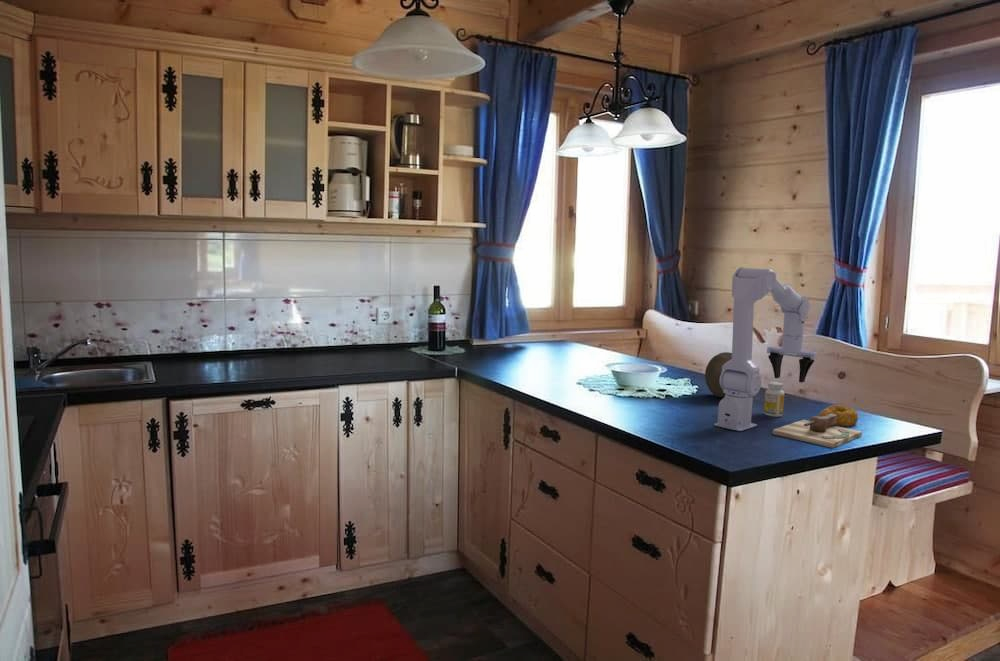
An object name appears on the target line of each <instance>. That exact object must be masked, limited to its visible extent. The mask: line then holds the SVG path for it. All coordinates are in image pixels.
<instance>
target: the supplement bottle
mask: <svg viewBox="0 0 1000 661" xmlns="http://www.w3.org/2000/svg"><path fill="white" fill-rule="evenodd" d="M783 385H784V383H782V382H779V381H778V382H777V381H769V382H768V385H767V387H768V389H767V388H766V390H765V392H764V405H763V415H765V416H768V417H774V418H778V417H782V416H784V415H783V413H784V404H785V403H784V402H785V391H784V390H782V389H783V387H784V386H783Z"/></svg>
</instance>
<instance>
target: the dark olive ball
mask: <svg viewBox="0 0 1000 661" xmlns="http://www.w3.org/2000/svg"><path fill="white" fill-rule="evenodd" d="M731 359H732V352H724V351H723V352H720V353H718V354H716V355H714V356H712V358H711V359H710V360H709V361H708V363H707V365H706V368H705V370H704V380H705V382H706V386H707V388H708V390H709V391H710V393H711V394H713V395H714V396H715V397H718V398H722V399H723V398H724V397H725V394H726V393H723V389H722V388H721V386H720V375H721V373H722V366H723V365H724V364H725V363H726V362H728V361H730V360H731Z"/></svg>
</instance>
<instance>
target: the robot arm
mask: <svg viewBox="0 0 1000 661" xmlns="http://www.w3.org/2000/svg"><path fill="white" fill-rule="evenodd" d="M731 282H732V284H731V285H732V286H731V297H733V312H732V313H733V314H732V315H733V316H732V317H733V318H732V321H733V322H732V342H731V343H732V345H731V353H732V359H731V360H730V361H728V362H726V363H725V364H724V365H723V366H722V373H721V375H720V386H721V388H722V389H723V393H726V394H725V397H724V398H722V399H720V401H719V403H718V408H717V422H716V423H714V424H713V425H714V426H715V427H719V428H720V427H721V428H723V429H724V428H725V429H729V430H733V431H737V432H742V431H745V430H749V429H752V428H755V427H757V426H758V424H757V423H752V410H753V397H755V396H756V395H757V394H758V393H759V392H760V390H761V387H762V379H761V376H760V368H759V367H758V365H757V364H756V363H755V362H754V361H753V358H752V356H753V335H754V334H753V332H754V311H755V310H754V307H755V303H756V302H758V301H759V300H763V298H764V297H765V296H767V295H768V294H769V293H770V294H772V299H773V301H774V302H775V303H777V304H778V305H779V307H780V310H781V313H782V314H783V328H782V340H781V346H780V347H779V346H778V347H777V346H772V345H771V346H767V348H766V354H769V355H768V359H769V362H770V364H771V367H772V369H773V375H774V378H775V379H780V377H781V374H782V373H781V372H782V371H781V369H782V362H783V359H784V356H785V357H786V356H787V357H794V358H799V359H798V362H799V363H798V364H799V376H798V377H799V378H798V382H799V383H805V381H806V377H807V375H808V373H809V371H810V368H811V367H812V365H813V364H814V362H815V360H817V358H818V352H814V351H808V350H803V345H804V344H803V342H804V333H805V332H804V330H805V321H807V318H808V313H809V311H810V308H811V307H810V306H811V305H810V300H809V299H808V298H807V297H806V296H805V295H800V294H799V293H798V292H797V291H795V289H794V288H792V286H791V285H790V284H789V283H784V284H782V283H781V282H780V281H779V279H778V278H777V273H776V272H775V271H774V270H773V269H772V268H752V267H742V266H740V267H738V268H737V269H736V271H735V272H734V273H733V275H732V280H731Z"/></svg>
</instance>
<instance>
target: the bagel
mask: <svg viewBox="0 0 1000 661" xmlns="http://www.w3.org/2000/svg"><path fill="white" fill-rule="evenodd" d="M829 414H835V415H838V417H837V424H834V425H833V426H837V427H851V426H854V425H856V424H857V422H858V420H859V415H858V412H857V411H856V410H855V409H854V408H852V407H850V406H848V405H843V404H833V405H829V406H827V407H826V408H823V409H822V410H821V411H819V413H818V415H817V416H820V417H823V416H826V415H829Z"/></svg>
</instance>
